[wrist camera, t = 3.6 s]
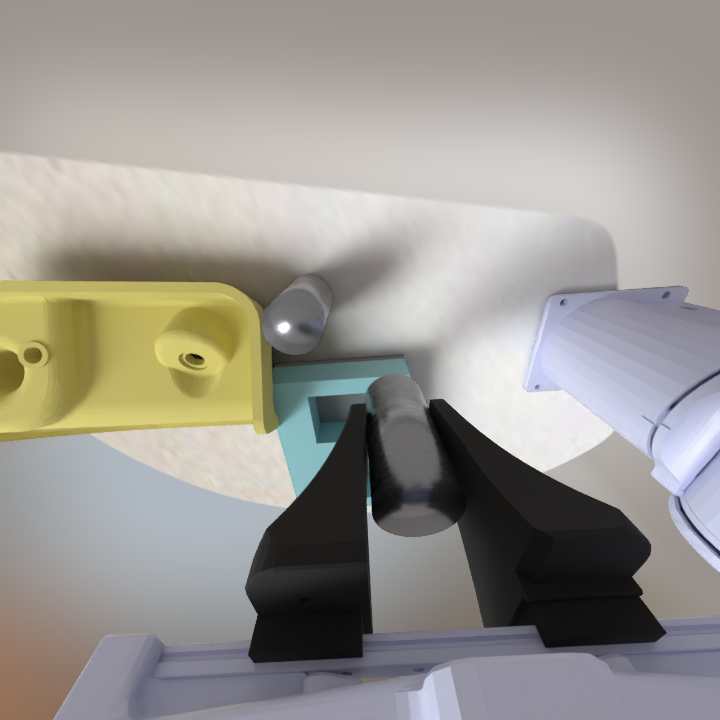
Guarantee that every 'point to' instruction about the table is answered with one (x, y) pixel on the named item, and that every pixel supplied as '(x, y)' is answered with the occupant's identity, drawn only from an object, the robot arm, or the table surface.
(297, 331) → the peg
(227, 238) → the table surface
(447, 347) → the table surface
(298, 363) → the housing
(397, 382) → the peg
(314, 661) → the robot arm
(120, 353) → the plastic component
